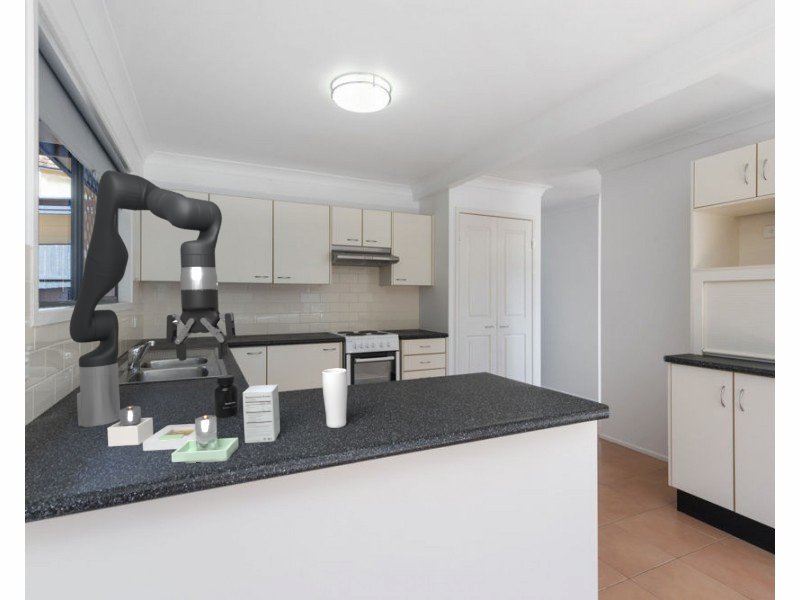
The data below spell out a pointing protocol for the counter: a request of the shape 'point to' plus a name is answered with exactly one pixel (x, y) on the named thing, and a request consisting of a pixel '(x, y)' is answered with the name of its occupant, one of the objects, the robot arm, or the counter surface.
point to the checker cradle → (169, 438)
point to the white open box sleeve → (130, 433)
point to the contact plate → (182, 432)
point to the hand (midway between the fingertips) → (202, 359)
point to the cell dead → (130, 416)
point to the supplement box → (261, 413)
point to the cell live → (206, 433)
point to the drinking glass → (335, 396)
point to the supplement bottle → (226, 397)
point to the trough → (205, 452)
